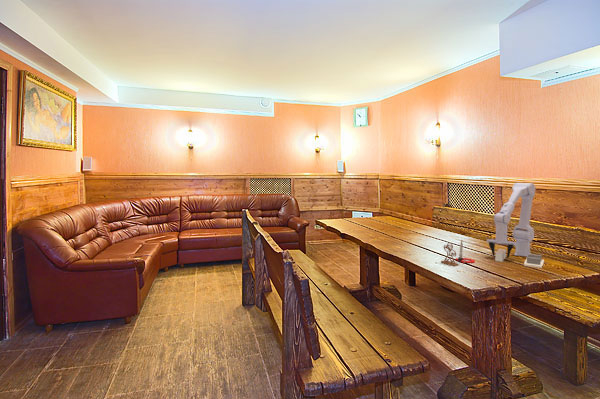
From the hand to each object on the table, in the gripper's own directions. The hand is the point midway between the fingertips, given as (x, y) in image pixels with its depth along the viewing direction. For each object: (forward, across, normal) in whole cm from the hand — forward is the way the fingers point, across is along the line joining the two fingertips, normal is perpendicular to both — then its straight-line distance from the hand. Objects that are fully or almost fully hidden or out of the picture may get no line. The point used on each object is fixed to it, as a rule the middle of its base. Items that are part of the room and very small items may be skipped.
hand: (500, 256), depth 191 cm
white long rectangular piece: (+2, 0, 0) cm, 2 cm away
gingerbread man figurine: (+2, -21, -27) cm, 34 cm away
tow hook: (+2, -15, -16) cm, 22 cm away
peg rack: (+2, +16, 0) cm, 16 cm away
